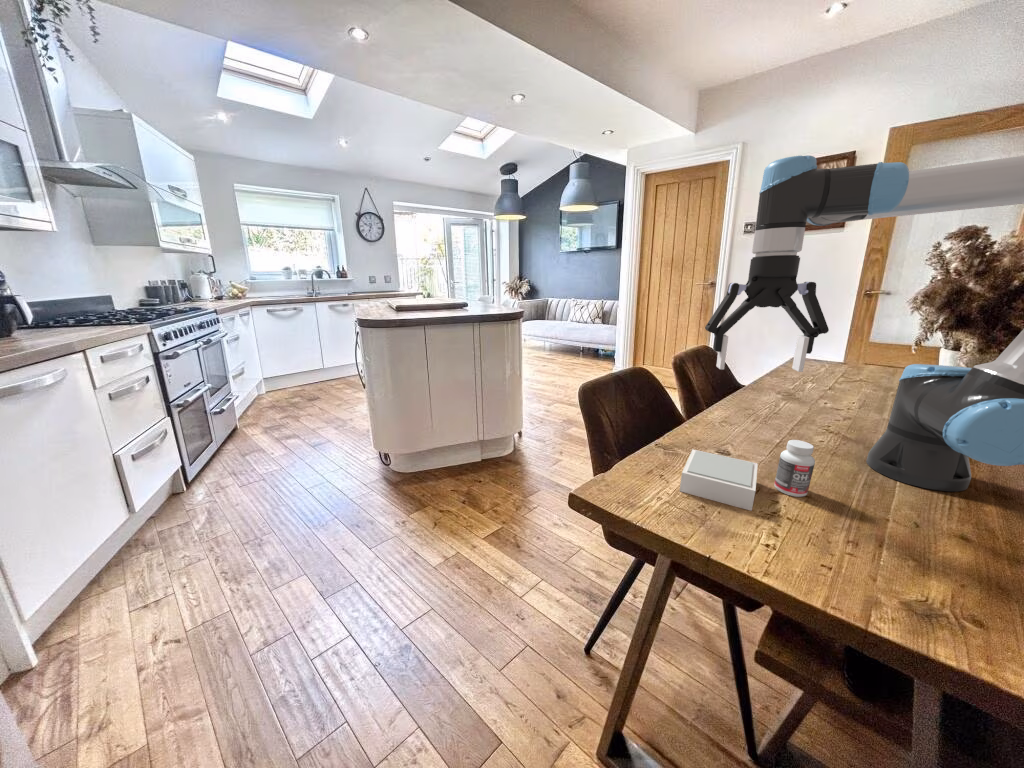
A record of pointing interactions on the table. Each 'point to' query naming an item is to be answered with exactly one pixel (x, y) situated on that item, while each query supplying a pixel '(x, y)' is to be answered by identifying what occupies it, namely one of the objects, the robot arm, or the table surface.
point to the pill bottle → (795, 469)
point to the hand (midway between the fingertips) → (757, 369)
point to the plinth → (720, 479)
